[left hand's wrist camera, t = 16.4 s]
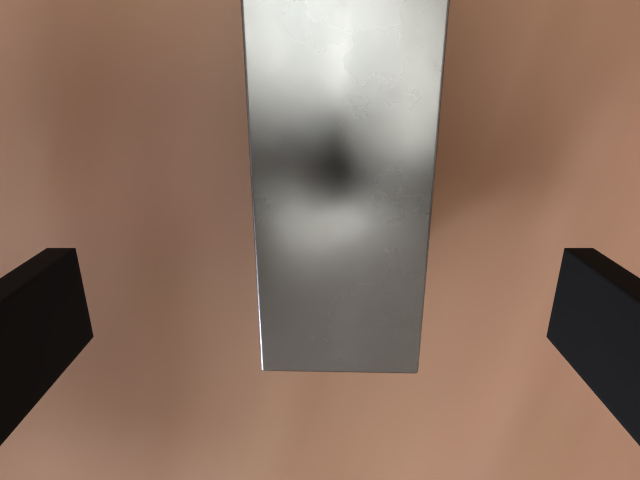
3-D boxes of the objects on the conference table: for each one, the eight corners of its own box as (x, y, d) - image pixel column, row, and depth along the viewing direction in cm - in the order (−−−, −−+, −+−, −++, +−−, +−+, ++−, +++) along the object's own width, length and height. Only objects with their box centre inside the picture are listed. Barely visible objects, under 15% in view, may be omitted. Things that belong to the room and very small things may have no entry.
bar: (387, 262, 24) (418, 374, 15) (288, 261, 24) (261, 371, 15) (417, -307, 16) (516, -767, 7) (272, -303, 16) (197, -747, 8)
